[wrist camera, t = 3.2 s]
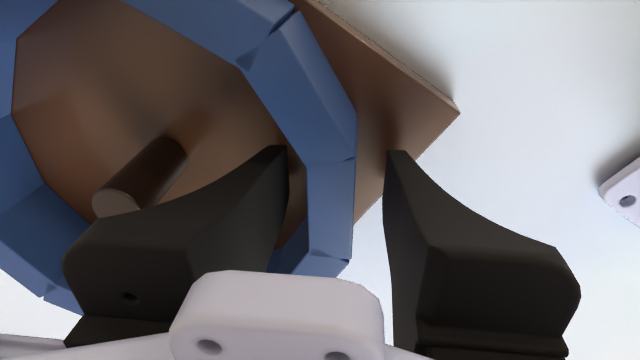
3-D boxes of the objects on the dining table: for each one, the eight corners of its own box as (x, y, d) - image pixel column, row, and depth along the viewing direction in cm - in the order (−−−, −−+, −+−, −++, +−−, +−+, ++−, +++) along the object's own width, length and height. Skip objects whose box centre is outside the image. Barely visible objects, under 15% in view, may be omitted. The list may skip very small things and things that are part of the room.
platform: (455, 102, 13) (491, 167, 9) (256, 315, 20) (231, 399, 17) (15, -223, 10) (-216, -334, 6) (-29, 175, 17) (-140, 240, 13)
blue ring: (442, 97, 12) (462, 138, 9) (259, 324, 19) (243, 381, 17) (-25, -197, 9) (-173, -251, 7) (-28, 198, 17) (-99, 243, 14)
